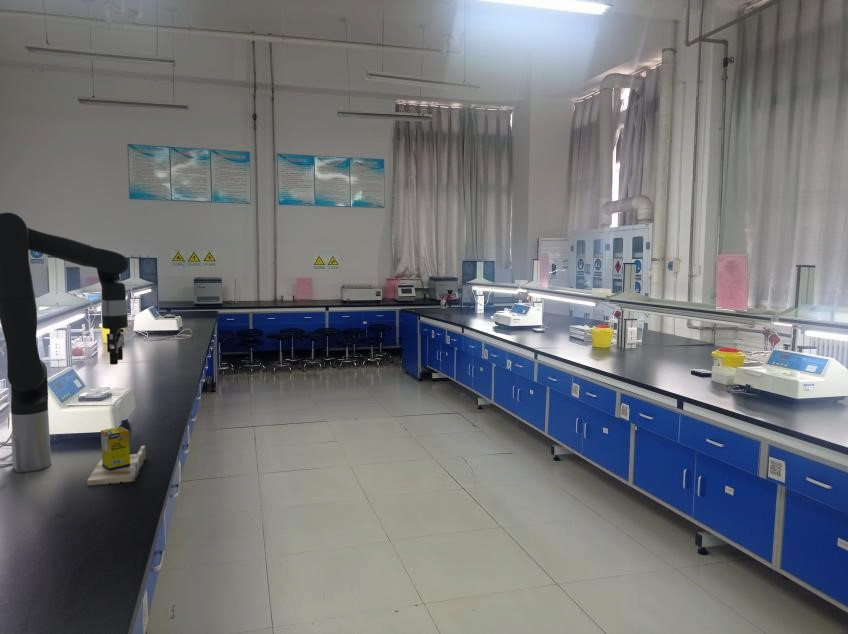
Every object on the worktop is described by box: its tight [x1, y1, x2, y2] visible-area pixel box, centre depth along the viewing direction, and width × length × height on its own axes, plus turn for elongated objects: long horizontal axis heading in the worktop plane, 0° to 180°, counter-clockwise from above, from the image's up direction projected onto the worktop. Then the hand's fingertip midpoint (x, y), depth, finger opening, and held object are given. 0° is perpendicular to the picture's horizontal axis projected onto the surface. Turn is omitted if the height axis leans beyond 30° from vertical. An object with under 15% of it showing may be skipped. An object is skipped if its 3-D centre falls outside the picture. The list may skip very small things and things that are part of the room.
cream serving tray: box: [86, 445, 146, 486], centre depth 177 cm, size 20×12×4 cm, turn 17°
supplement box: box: [100, 426, 131, 471], centre depth 176 cm, size 6×6×11 cm
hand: (116, 362), depth 198 cm, fingers open, 8 cm apart
